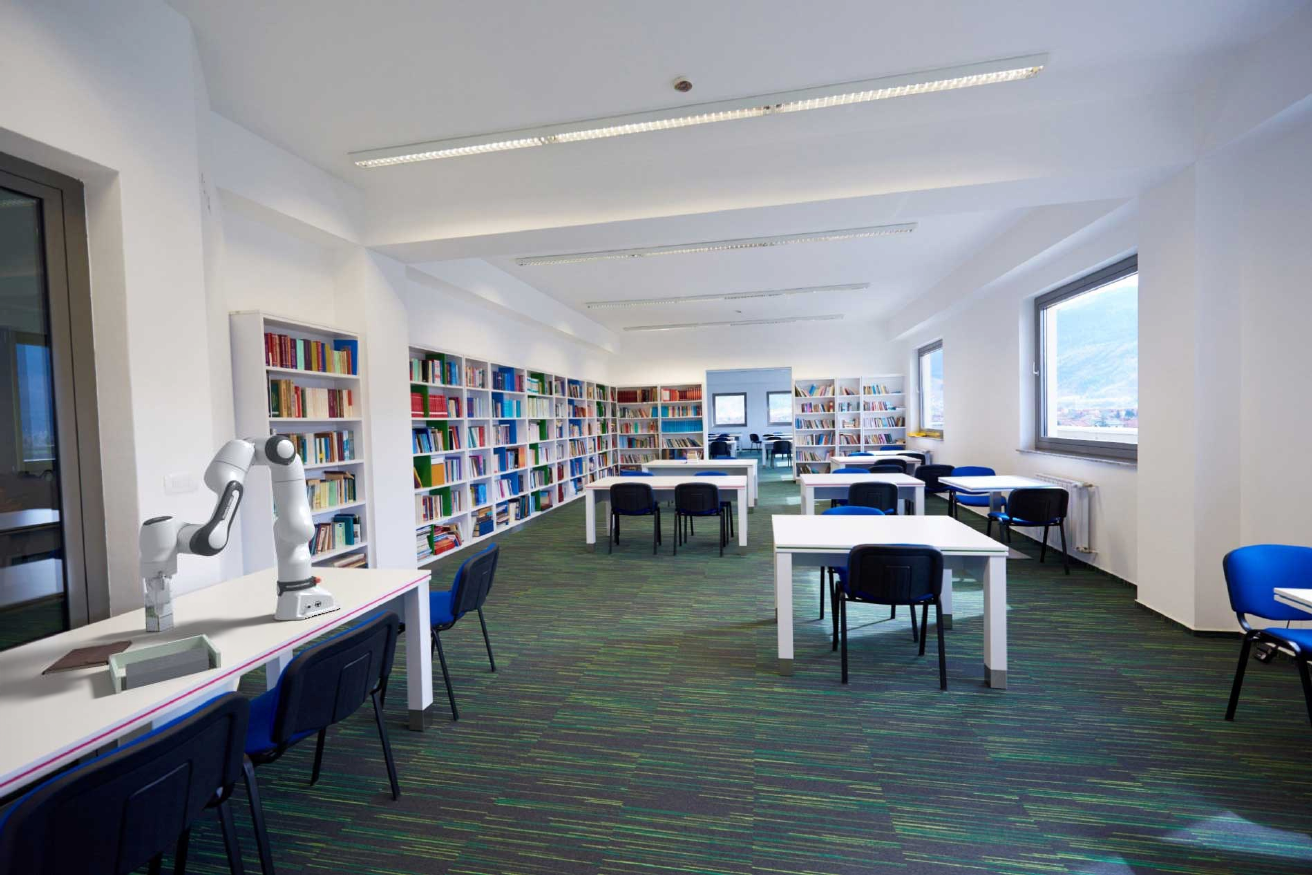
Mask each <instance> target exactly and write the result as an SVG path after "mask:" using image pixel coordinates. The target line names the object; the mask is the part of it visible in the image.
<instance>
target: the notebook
mask: <svg viewBox="0 0 1312 875" xmlns="http://www.w3.org/2000/svg"><path fill="white" fill-rule="evenodd" d="M132 645H133V640H131V639H130V640H124V641H123V640H122V641H117V642H113V643H108V644H107V643H106V644H102V645H101V644H100V645H93V646H87V647H86V646H85V647H80V648H73V649H72V650H70V651H69V652H68V653H66V654H65V655H64V656H62V657H61V658H60V659H58V660H57V661H55V662H54V663H53V664H51V665H50V666H48V667H47V668H46V669H44V670H43V671H42V672H41V676H43V675H51V674H50V673H52V674H56V673H62V672H63V673H65V672H69V671H70V672H71V671H76V670H83V669H90V668H96V667H103V666H109V655H113V654H117V653H122V652H126V650H127V649H128V648H130V647H131V646H132Z"/></svg>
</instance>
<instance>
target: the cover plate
mask: <svg viewBox="0 0 1312 875" xmlns="http://www.w3.org/2000/svg"><path fill="white" fill-rule="evenodd" d="M209 660H210V659H209V657H208V656H207V654H206V651H205V649H204V647H202V648H197V649H193V650H188V651H184V652H179V653H175V654H170V655H166V656H161V657H156V658H152V659H147V660H143V661H138V662H134V663H129V664H125V669H124V670H125V683H126V684H125V685H126V686H125V687H126V691H129V690H132V689H133V690H134V689H136V688H140V687H141V688H142V687H145V686H149V685H154V684H157V683H162V682H166V681H169V680H173V679H175V680H176V679H179V678H183V677H187V676H190V675H191V676H192V675H194V674H199V673H203V672H207V671H209V670H210V661H209Z"/></svg>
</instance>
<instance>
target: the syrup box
mask: <svg viewBox="0 0 1312 875" xmlns="http://www.w3.org/2000/svg"><path fill="white" fill-rule="evenodd" d="M173 598H174V597H173V588H171V602H170V603H169V604H165V605H164V608H163V614H162V615H156V614H155V611H154V603H153V601H152V600H151V598H150V597H149V595H148V593H147V591H145V592H144V611H145V612H144V616H145V632H163V631H166V630H170V629H172V628H173V627H174V626H175V625H174V603H173V602H174V601H173Z"/></svg>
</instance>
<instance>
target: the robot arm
mask: <svg viewBox="0 0 1312 875" xmlns="http://www.w3.org/2000/svg"><path fill="white" fill-rule="evenodd" d="M252 466H267V467H268V468H269V469H270V472H271V473H270V474H271V476H270V477H271V478H270V480H271V487H272V488H271V489H272V499H273V504H274V506H275V511H276V514H277V519H276V520H275V521H274V523H273V525H272V526H273V539H274V545H275V553H276V558H277V580H276V594H277V603H276V609H275V613H274V617H273V619H275V620H277V621H291V620H292V621H293V620H296V621H298V620H299V621H301V620H305V618H307V619H309V618H308V617H310V618H313V617H312V616H314V615H317V616H319V615H318V614H320V613H325V612H326V611H331V610H333V609H336V608H340V607H341V608H342V604H341V603H340V602H337V601H335V596H334V594H333V593H332V591H331V590H329V589H326V588H325V587H323V586H321V585H319V584H320V583H321V582H322V578H321V577H318V576H313V575H312V554H311V553H310V552H311V551H310V548H309V542H310V541H311V540H312V539H313V538H314V536H315V533H316V527H315V525H314V521H313V520H314V519H313V514H312V510H311V506H310V504H309V499H308V493H307V492H308V489H307V483H306V474H305V473H306V472H305V468H304V464H303V461H302V458H301V456H300V455H299V453H297V450H296V445H295V443H294V442H293V440H292V439H291V438H290V437H288V436H285V435H279V434H278V435H277V434H276V435H273V434H272V435H260V436H254V437H252V436H250V437H247V438H244V439H231V440H229V441H227V442H226V443H225V444H224V445H223V446H222V447H221V448H220V449H219V450H218V452H217V453H216V454H215V455H214V456H213V458H212V459H211V461H210V463H209V465H208V466H207V468H206V470H205V471H204V476H203V482H204V484H205V486H207V488H208V489H209V490H210V491H212V492H213V493H216V495H217V501H216V504H215V507H214V508H213V511H212V514H211V516H210V518H209V520H208V521H207V522H205V523H204V524H200V523H198V524H197V523H189V522H184V521H181V520H178V519H176V518H174V516H171V515H163V516H157V517H156V516H155V517H152V518H150V519H147V520H145V521H144V522H142V524H141V526H140V531H139V538H138V539H139V541H138V544H139V545H138V546H139V551H140V558H139V561H138V562H139V565H138V566H139V567H138V568H139V573H138V574H139V578H140V579H144V582H145V589H146V592H147V593H148V595H149V597H150V598H151V600H152V601H153V603H154V611H155V614H156V615H162V614H163V608H164V605H165V604H169V603H170V602H171V589H172V588H171V580H172V579H173V576H174V575H176V574H178V555H179V554H185V555H196V556H202V557H213V556H216V555H218V554H220V553H221V552H223V550H224V549H225V548H226V546H227V544H228V542H229V537H230V530H231V527H232V524H233V521H234V518H235V517H236V514H237V512H238V509H239V506H240V504H241V502H242V499H243V495H244V486H243V484H244V481H245V478H246V476H247V474H248V473H249V471H250V469H251V467H252ZM325 614H326V613H325ZM314 617H315V616H314Z"/></svg>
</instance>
